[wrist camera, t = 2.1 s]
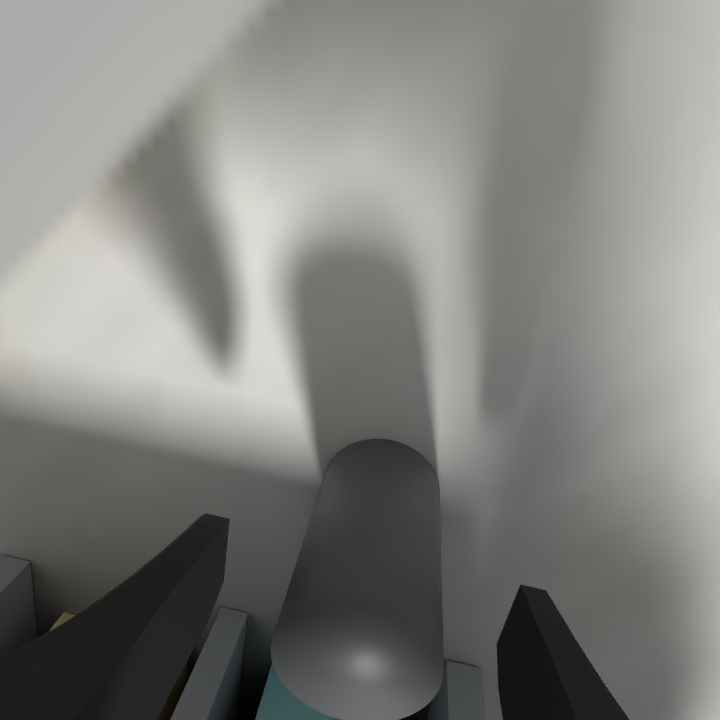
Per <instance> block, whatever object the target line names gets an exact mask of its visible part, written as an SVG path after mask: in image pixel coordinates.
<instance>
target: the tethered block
mask: <svg viewBox="0 0 720 720" xmlns="http://www.w3.org/2000/svg"><path fill="white" fill-rule="evenodd" d="M271 660H272V666H271V669H270V672H269V675H268V679H267V682H266V685H265V689H264V692H263V695H262V698H261V702H260V705H259V708H258V712H257V715H256V718H255V720H401V719H402V718H405V717H407V716H410V715H412V714H414V713H416V712H418V711H419V710H421V709H422V708H424V707H425V706H426V705H427V704H428V703H429V702H430V701H431V700H432V699H433V698H434V697H435V695H436V694H437V692H438V691H439V688H440V686H441V684H442V680H443V671H444V664H443V622H442V580H441V538H440V496H439V483H438V479H437V476H436V474H435V472H434V470H433V468H432V467H431V465H430V464H429V463H428V461H427V460H426V459H425V458H424V457H423V456H422V455H420V454H419V453H418V452H416V451H415V450H413V449H412V448H410V447H408V446H406V445H403V444H401V443H398V442H394V441H390V440H381V439H374V440H365V441H360V442H357V443H354V444H352V445H350V446H348V447H346V448H345V449H343V450H341V451H340V452H339V453H338V454H337V455H336V456H335V457H334V458H333V459H332V461H331V462H330V464H329V465H328V467H327V470H326V472H325V475H324V479H323V482H322V485H321V488H320V491H319V494H318V497H317V500H316V504H315V507H314V510H313V513H312V516H311V519H310V522H309V525H308V529H307V532H306V535H305V538H304V541H303V544H302V547H301V550H300V554H299V557H298V560H297V563H296V566H295V569H294V572H293V575H292V579H291V582H290V585H289V588H288V591H287V594H286V597H285V600H284V604H283V607H282V610H281V613H280V616H279V619H278V622H277V625H276V629H275V632H274V635H273V638H272V642H271Z"/></svg>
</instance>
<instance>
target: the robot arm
mask: <svg viewBox="0 0 720 720" xmlns="http://www.w3.org/2000/svg"><path fill="white" fill-rule="evenodd" d="M228 530H229V519H228V518H224V517H219V516H215V515H210V514H204V515H202V516H201V517H200V518H198V519H197V520H196V521H195V522H194V523H193V524H192V525H191V526H190V527H189V528H188V529H187V530H185V531H184V532H183V533H182V534H181V535H180V536H179V537H178V538H177V539H175V540H174V541H173V542H172V543H171V544H170V545H168V546H167V547H166V548H165V549H164V550H163V551H161V552H160V553H159V554H158V555H157V556H155V557H154V558H153V559H152V560H150V561H149V562H148V563H147V564H146V565H144V566H143V567H142V568H141V569H139V570H138V571H137V572H136V573H134V574H133V575H132V576H130V577H129V578H128V579H126V580H125V581H124V582H122V583H121V584H120V585H118V586H117V587H116V588H114V589H113V590H112V591H110V592H109V593H108V594H106V595H105V596H103V597H102V598H100V599H99V600H98V601H96V602H95V603H93V604H92V605H90V606H89V607H87V608H86V609H84V610H83V611H81V612H80V613H78V614H77V615H75V616H73V617H72V618H70V619H69V620H67V621H66V622H64V623H62V624H61V625H59V626H57V627H56V628H54V629H52V630H51V631H49V632H47V633H45V634H44V635H42V636H40V637H39V638H37V639H35V640H33V641H32V642H30V643H28V644H26V645H25V646H23V647H21V648H19V649H17V650H15V651H14V652H12V653H10V654H8V655H6V656H4V657H2V658H0V720H157V718H158V716H159V714H160V712H161V710H162V708H163V706H164V705H165V703H166V701H167V699H168V697H169V695H170V693H171V691H172V689H173V687H174V685H175V683H176V682H177V680H178V678H179V676H180V674H181V672H182V670H183V668H184V666H185V664H186V662H187V661H188V659H189V657H190V655H191V653H192V651H193V649H194V647H195V645H196V643H197V641H198V639H199V637H200V636H201V634H202V632H203V630H204V628H205V626H206V624H207V622H208V619H209V617H210V614H211V612H212V609H213V607H214V604H215V602H216V599H217V597H218V594H219V592H220V589H221V586H222V584H223V581H224V572H225V561H226V551H227V540H228ZM497 665H498V686H499V695H500V703H501V709H502V716H503V720H629V718H628V717H627V716H626V714H625V713H624V711H623V710H622V709H621V707H620V706H619V704H618V703H617V702H616V700H615V699H614V697H613V696H612V695H611V693H610V692H609V690H608V689H607V687H606V686H605V684H604V683H603V681H602V680H601V678H600V677H599V675H598V674H597V672H596V670H595V669H594V667H593V666H592V664H591V663H590V661H589V660H588V658H587V657H586V655H585V653H584V652H583V650H582V649H581V647H580V646H579V644H578V642H577V641H576V639H575V637H574V636H573V634H572V633H571V631H570V629H569V628H568V626H567V624H566V623H565V621H564V619H563V618H562V616H561V614H560V613H559V611H558V609H557V608H556V606H555V604H554V603H553V601H552V600H551V598H550V596H549V595H548V593H547V591H546V590H542V589H537V588H533V587H529V586H524V585H520V587H519V590H518V592H517V595H516V597H515V600H514V602H513V605H512V607H511V610H510V612H509V615H508V617H507V620H506V622H505V625H504V627H503V630H502V632H501V635H500V637H499V640H498V642H497Z"/></svg>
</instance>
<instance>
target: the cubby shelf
mask: <svg viewBox="0 0 720 720" xmlns="http://www.w3.org/2000/svg"><path fill="white" fill-rule="evenodd" d="M247 618H248V613H246V612H242V611H238V610H233V609H229V608H225V607H221V609H220V611H219V613H218V615H217V618H216V620H215V622H214V624H213V626H212V629H211V631H210V633H209V635H208V638H207V640H206V642H205V644H204V646H203V649H202V651H201V653H200V655H199V657H198V660H197V662H196V664H195V666H194V669H193V671H192V673H191V675H190V677H189V680H188V682H187V684H186V686H185V688H184V691H183V693H182V695H181V697H180V700H179V702H178V704H177V706H176V708H175V711H174V713H173V715H172V717H171V719H170V720H235V713H236V705H237V698H238V690H239V682H240V674H241V666H242V658H243V650H244V642H245V634H246V626H247ZM37 638H38V637H37V627H36V616H35V605H34V595H33V584H32V573H31V563H30V561H26V560H22V559H18V558H13V557H9V556H5V555H1V554H0V658H2V657H4V656H6V655H8V654H10V653H12V652H14V651H15V650H17V649H19V648H21V647H23V646H25V645H26V644H28V643H30V642H32V641H33V640H35V639H37ZM426 720H485V713H484V702H483V691H482V681H481V670H480V668H479V667H474V666H470V665H466V664H462V663H457V662H453V661H449V660H447V661H446V664H445V667H444V671H443V680H442V684H441V686H440V688H439V691H438V692H437V694H436V695H435V697H434V699H433V702H432V704H431V707H430V710H429V713H428V716H427V719H426Z"/></svg>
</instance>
